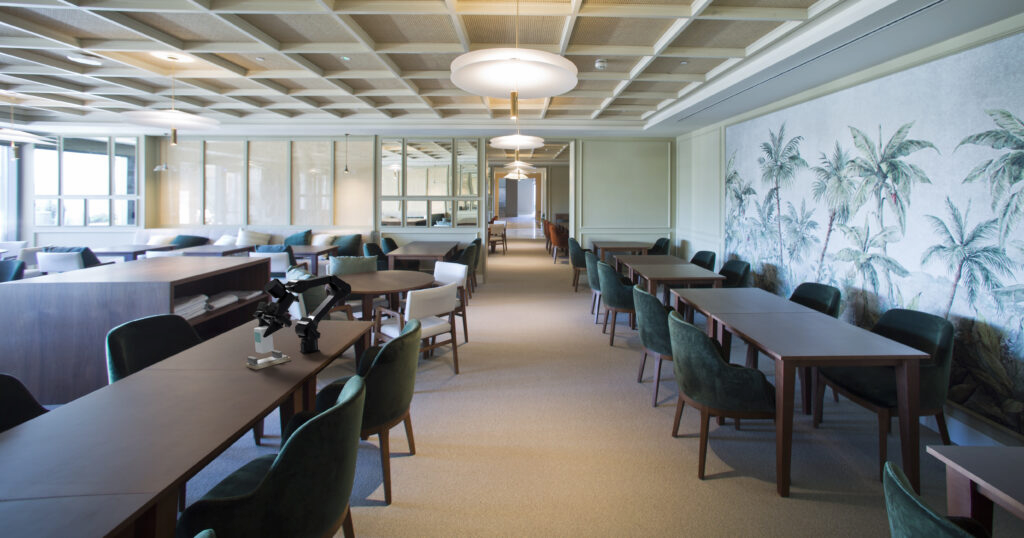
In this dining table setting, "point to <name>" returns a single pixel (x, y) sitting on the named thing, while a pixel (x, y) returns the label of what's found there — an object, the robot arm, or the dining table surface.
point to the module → (263, 340)
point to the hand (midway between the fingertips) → (260, 336)
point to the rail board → (267, 360)
